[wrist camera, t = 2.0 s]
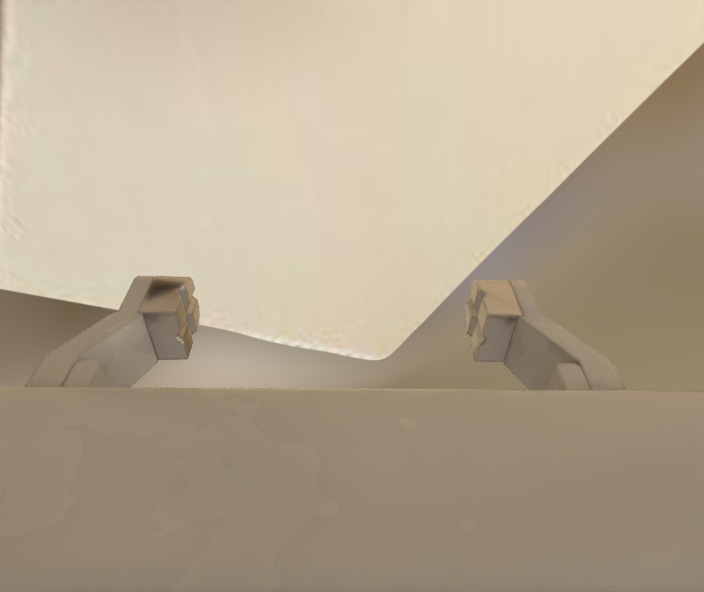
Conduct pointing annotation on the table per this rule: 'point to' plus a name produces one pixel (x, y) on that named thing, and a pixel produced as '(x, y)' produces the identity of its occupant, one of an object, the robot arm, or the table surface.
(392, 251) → the table surface
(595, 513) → the robot arm
